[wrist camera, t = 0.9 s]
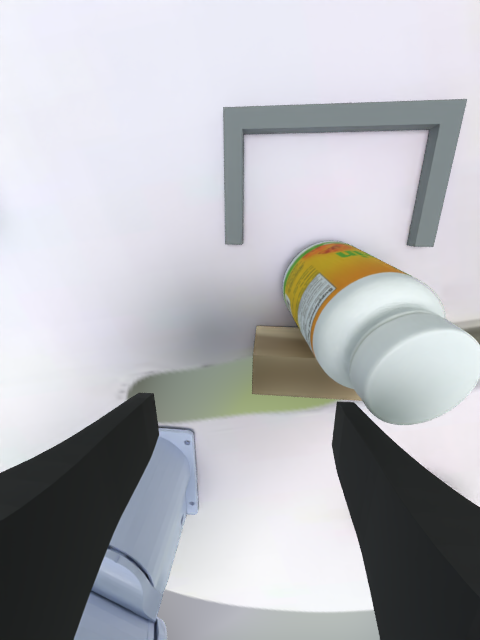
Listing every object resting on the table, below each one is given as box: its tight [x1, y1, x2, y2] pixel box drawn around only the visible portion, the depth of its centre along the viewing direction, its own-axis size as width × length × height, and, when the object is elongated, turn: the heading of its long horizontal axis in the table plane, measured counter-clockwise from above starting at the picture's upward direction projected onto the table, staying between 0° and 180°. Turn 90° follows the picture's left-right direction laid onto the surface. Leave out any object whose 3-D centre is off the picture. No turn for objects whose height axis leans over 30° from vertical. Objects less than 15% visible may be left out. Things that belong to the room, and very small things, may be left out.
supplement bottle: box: [283, 241, 480, 425], centre depth 14 cm, size 5×5×10 cm
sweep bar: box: [252, 326, 362, 401], centre depth 18 cm, size 2×8×4 cm, turn 90°
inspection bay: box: [223, 99, 467, 247], centre depth 16 cm, size 7×12×1 cm, turn 90°
